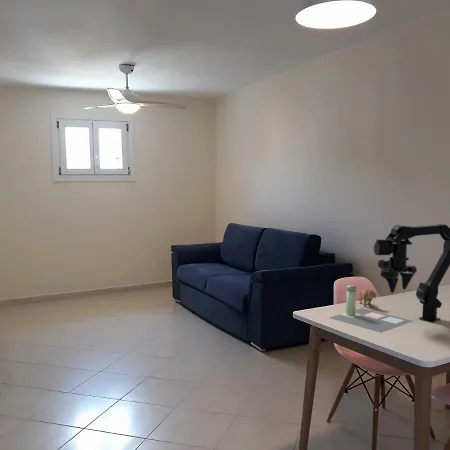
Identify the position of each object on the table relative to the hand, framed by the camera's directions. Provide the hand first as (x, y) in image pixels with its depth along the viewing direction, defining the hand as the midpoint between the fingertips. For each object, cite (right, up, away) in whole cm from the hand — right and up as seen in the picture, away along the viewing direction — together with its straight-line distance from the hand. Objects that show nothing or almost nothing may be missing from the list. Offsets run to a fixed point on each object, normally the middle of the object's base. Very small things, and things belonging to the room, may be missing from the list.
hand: (398, 290), depth 202 cm
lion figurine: (-6, -11, +26) cm, 29 cm away
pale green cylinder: (-18, -12, +9) cm, 23 cm away
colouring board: (-11, -13, +2) cm, 17 cm away
